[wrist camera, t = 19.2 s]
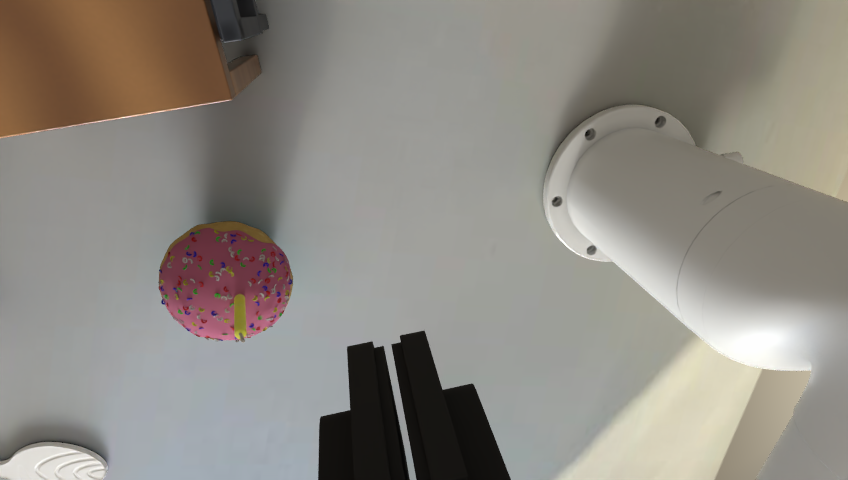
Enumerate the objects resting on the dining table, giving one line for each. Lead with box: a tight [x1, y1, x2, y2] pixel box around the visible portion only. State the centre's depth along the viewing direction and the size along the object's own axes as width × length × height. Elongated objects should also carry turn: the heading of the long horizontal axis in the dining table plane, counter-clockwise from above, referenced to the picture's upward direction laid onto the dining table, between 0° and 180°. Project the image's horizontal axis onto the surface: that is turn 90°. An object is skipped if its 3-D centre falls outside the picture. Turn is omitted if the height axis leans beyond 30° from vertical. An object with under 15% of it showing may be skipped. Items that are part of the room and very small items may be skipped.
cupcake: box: [158, 221, 293, 343], centre depth 35 cm, size 9×8×12 cm
